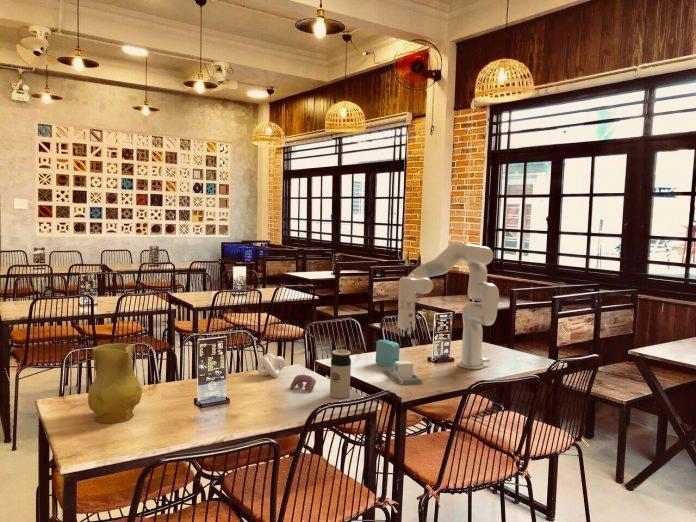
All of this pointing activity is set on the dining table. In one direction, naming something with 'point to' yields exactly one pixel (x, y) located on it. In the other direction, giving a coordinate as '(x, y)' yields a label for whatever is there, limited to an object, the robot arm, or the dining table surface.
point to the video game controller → (304, 378)
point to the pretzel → (270, 365)
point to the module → (403, 369)
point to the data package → (387, 353)
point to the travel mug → (340, 374)
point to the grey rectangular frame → (416, 379)
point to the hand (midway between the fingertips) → (404, 344)
